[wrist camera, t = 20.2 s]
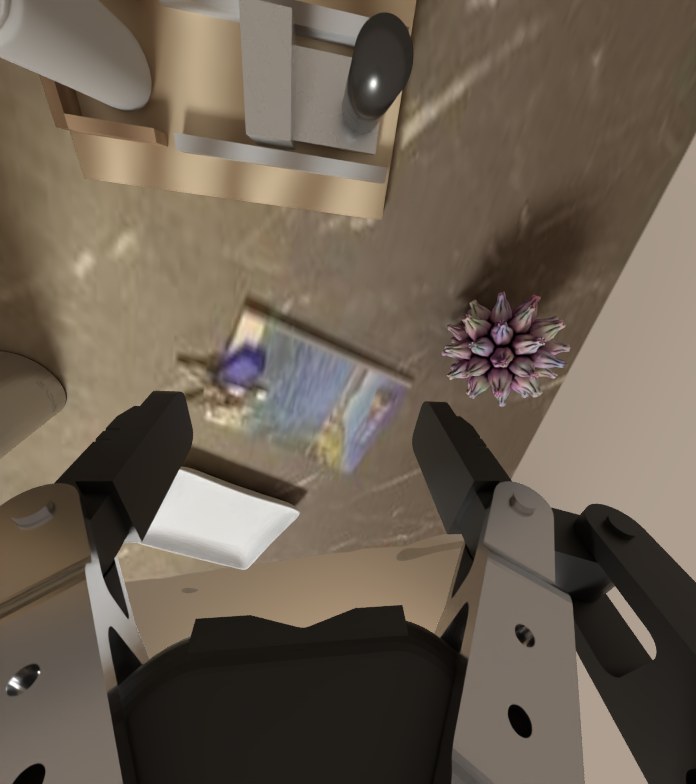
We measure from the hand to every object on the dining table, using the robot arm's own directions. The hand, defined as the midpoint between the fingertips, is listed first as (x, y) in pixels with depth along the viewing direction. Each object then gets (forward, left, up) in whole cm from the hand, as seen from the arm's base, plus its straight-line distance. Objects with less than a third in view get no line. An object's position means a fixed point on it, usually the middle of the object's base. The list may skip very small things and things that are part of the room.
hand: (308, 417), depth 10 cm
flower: (+20, -4, -25) cm, 32 cm away
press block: (-1, +13, -23) cm, 26 cm away
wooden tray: (-7, +13, -25) cm, 28 cm away
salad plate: (-14, -41, -25) cm, 50 cm away
